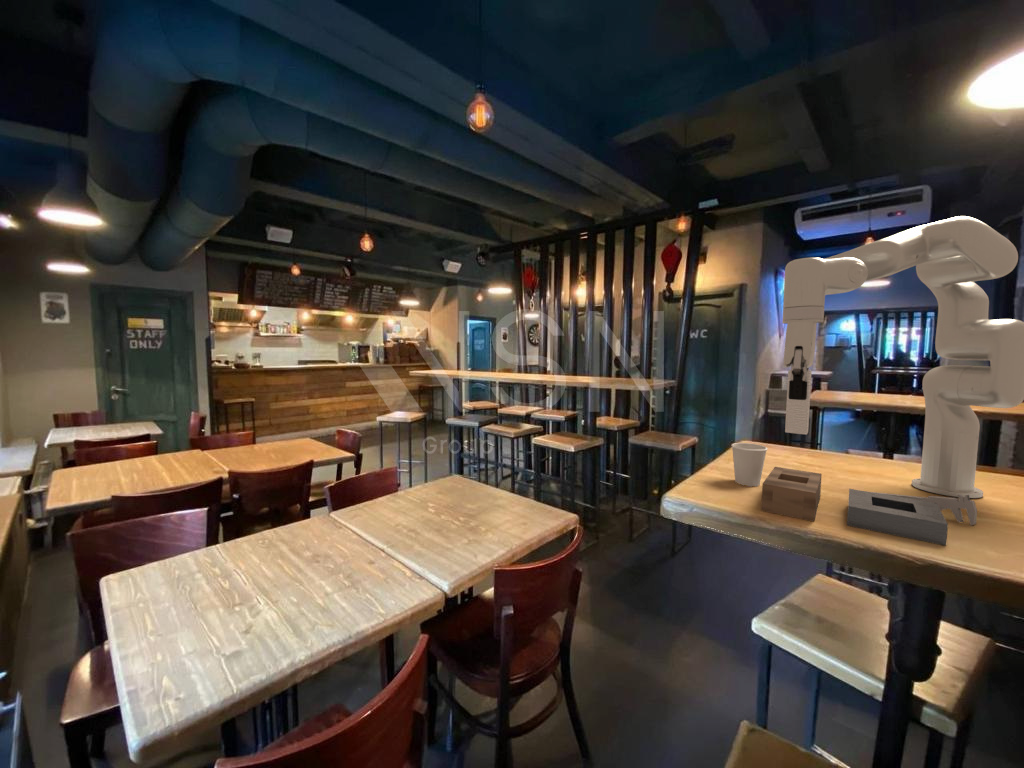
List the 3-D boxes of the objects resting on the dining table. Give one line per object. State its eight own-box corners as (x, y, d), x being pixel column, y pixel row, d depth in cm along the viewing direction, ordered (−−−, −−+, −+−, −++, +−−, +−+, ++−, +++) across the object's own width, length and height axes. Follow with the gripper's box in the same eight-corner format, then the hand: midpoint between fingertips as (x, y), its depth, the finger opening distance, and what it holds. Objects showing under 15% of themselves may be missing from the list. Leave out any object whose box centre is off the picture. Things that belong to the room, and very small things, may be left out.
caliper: (976, 526, 85) (978, 496, 85) (973, 527, 85) (976, 497, 84) (858, 495, 104) (860, 470, 103) (856, 495, 103) (857, 470, 103)
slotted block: (773, 489, 106) (774, 466, 106) (820, 498, 100) (821, 473, 100) (761, 510, 92) (762, 483, 92) (814, 521, 86) (815, 493, 86)
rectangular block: (787, 429, 98) (790, 369, 97) (808, 431, 96) (811, 370, 94) (785, 432, 95) (788, 370, 94) (806, 434, 92) (810, 370, 91)
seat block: (848, 505, 96) (849, 488, 95) (934, 521, 87) (936, 502, 86) (846, 525, 85) (848, 505, 84) (946, 545, 76) (947, 524, 76)
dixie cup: (736, 487, 108) (738, 449, 108) (725, 477, 117) (726, 442, 116) (771, 489, 107) (773, 450, 106) (757, 479, 115) (759, 443, 115)
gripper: (787, 319, 102) (783, 394, 103) (777, 314, 89) (773, 400, 91) (826, 317, 97) (821, 396, 99) (821, 312, 84) (816, 403, 86)
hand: (798, 397), depth 95 cm, fingers closed on rectangular block, 4 cm apart
